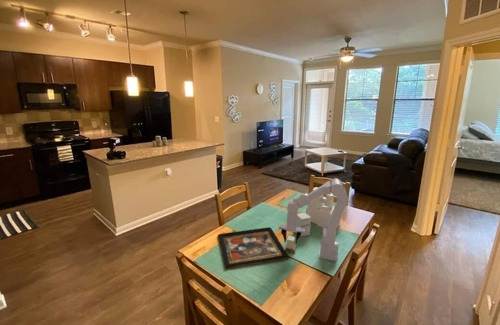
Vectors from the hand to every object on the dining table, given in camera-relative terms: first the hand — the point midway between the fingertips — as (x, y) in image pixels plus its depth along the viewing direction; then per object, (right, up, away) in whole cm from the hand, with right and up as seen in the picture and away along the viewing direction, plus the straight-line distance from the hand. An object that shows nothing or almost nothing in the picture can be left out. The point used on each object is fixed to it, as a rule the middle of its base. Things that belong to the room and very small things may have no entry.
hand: (290, 242), depth 140 cm
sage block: (0, -3, +1) cm, 3 cm away
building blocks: (+27, +3, +32) cm, 42 cm away
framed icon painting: (-23, -5, +4) cm, 24 cm away
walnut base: (0, -5, +1) cm, 6 cm away
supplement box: (+10, 0, +18) cm, 21 cm away
